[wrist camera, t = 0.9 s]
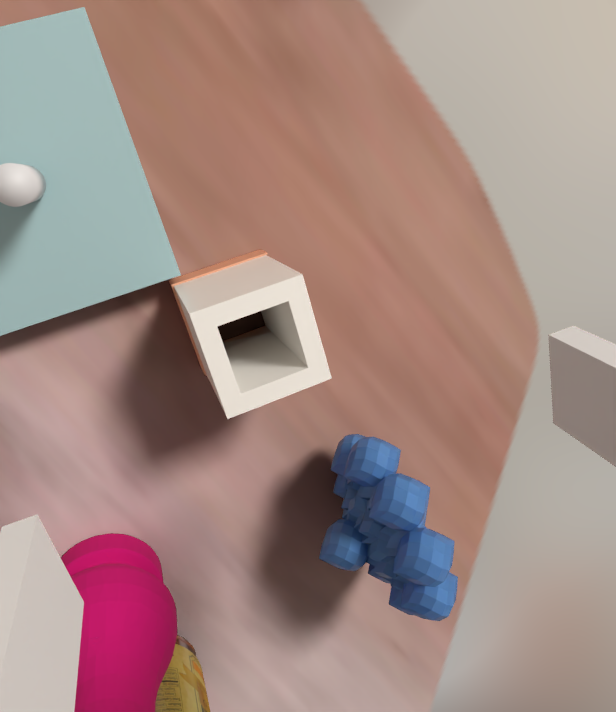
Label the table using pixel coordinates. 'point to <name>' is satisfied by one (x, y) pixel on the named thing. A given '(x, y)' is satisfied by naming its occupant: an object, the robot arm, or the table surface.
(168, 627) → the pepper mill
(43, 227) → the pin board
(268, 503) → the table surface
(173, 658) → the sauce bottle
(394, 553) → the grapes
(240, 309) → the sleeve
